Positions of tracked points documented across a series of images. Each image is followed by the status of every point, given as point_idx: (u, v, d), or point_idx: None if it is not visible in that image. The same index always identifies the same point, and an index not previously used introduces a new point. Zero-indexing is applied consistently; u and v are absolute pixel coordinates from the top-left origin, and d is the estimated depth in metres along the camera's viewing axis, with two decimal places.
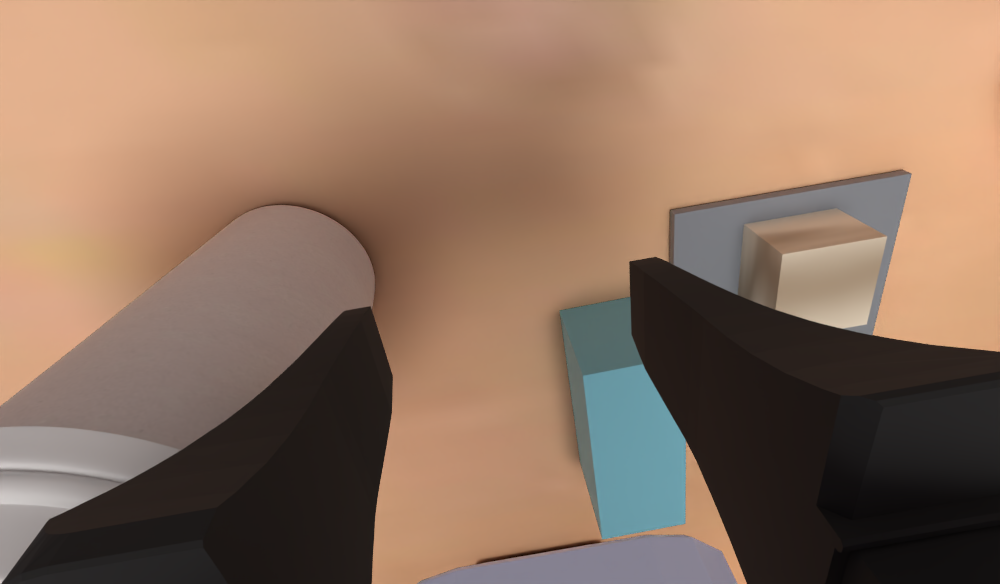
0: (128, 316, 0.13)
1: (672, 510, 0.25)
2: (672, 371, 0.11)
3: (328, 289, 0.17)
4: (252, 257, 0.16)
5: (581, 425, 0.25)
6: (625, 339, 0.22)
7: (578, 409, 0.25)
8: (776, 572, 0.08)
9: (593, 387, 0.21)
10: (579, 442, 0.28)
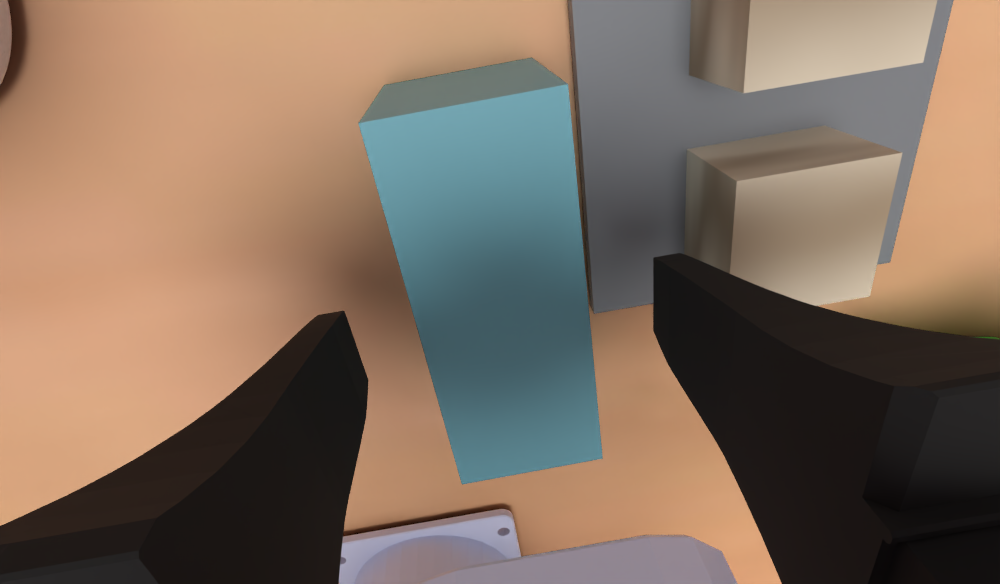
0: None
1: (578, 432, 0.14)
2: (699, 366, 0.11)
3: None
4: None
5: None
6: (468, 87, 0.12)
7: None
8: (814, 565, 0.08)
9: (386, 154, 0.10)
10: None
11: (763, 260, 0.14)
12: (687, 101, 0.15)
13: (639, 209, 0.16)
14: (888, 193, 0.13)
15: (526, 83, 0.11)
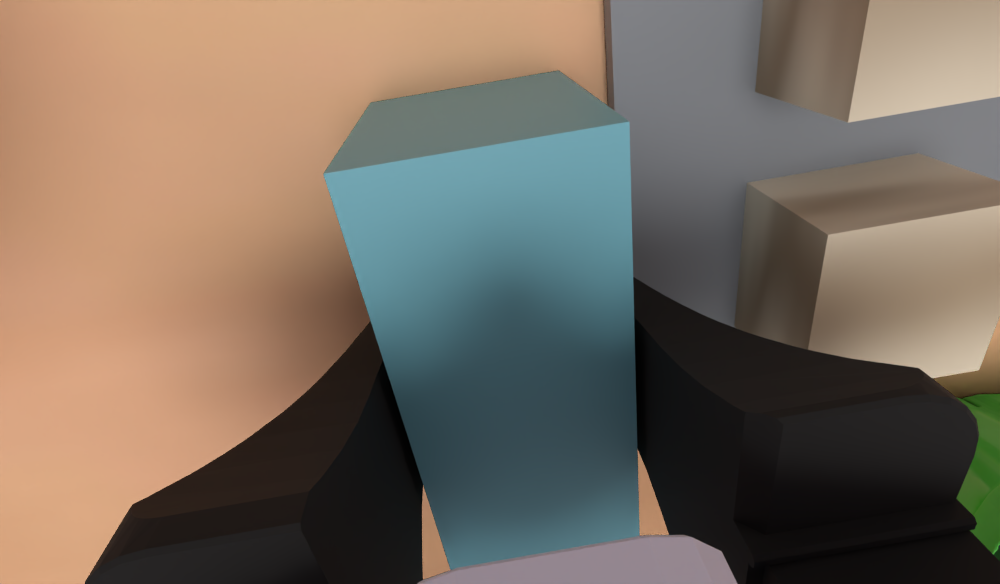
0: None
1: None
2: None
3: None
4: None
5: None
6: (480, 117, 0.08)
7: None
8: None
9: (364, 217, 0.07)
10: None
11: (853, 329, 0.11)
12: (751, 124, 0.12)
13: (684, 254, 0.13)
14: None
15: (564, 115, 0.08)
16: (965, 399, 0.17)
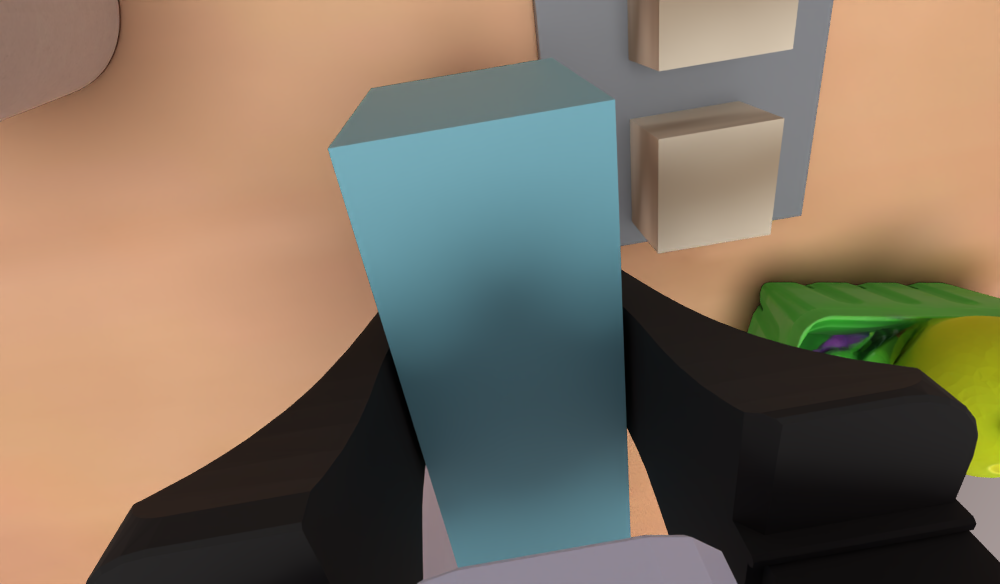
0: None
1: (603, 518, 0.12)
2: None
3: None
4: None
5: None
6: (476, 99, 0.09)
7: None
8: None
9: (366, 190, 0.08)
10: None
11: (684, 202, 0.18)
12: (628, 80, 0.19)
13: None
14: (777, 150, 0.17)
15: (555, 95, 0.08)
16: (806, 285, 0.24)
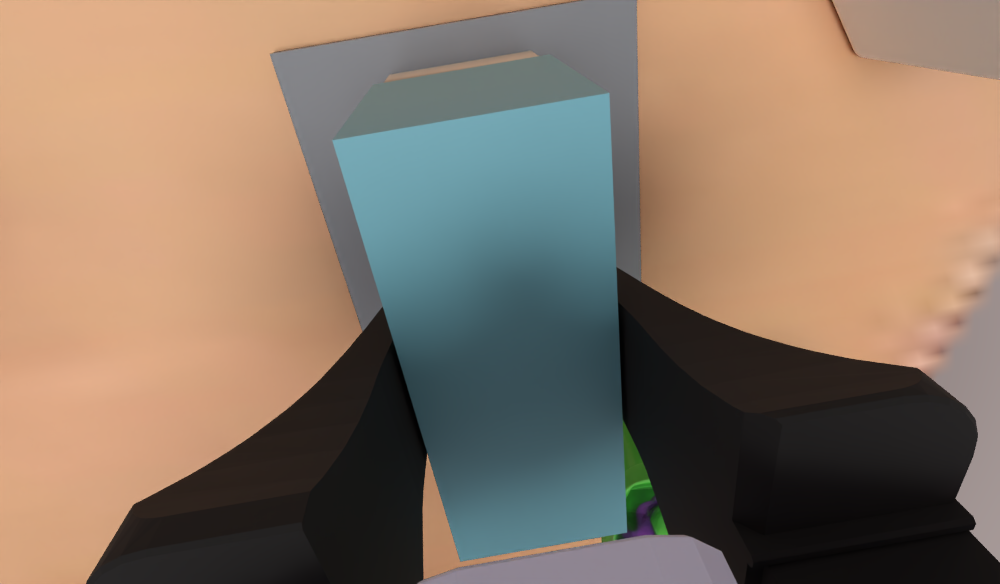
0: None
1: (599, 505, 0.12)
2: (622, 379, 0.11)
3: None
4: None
5: None
6: (475, 93, 0.09)
7: None
8: None
9: (369, 180, 0.08)
10: None
11: None
12: None
13: None
14: None
15: (552, 89, 0.08)
16: None
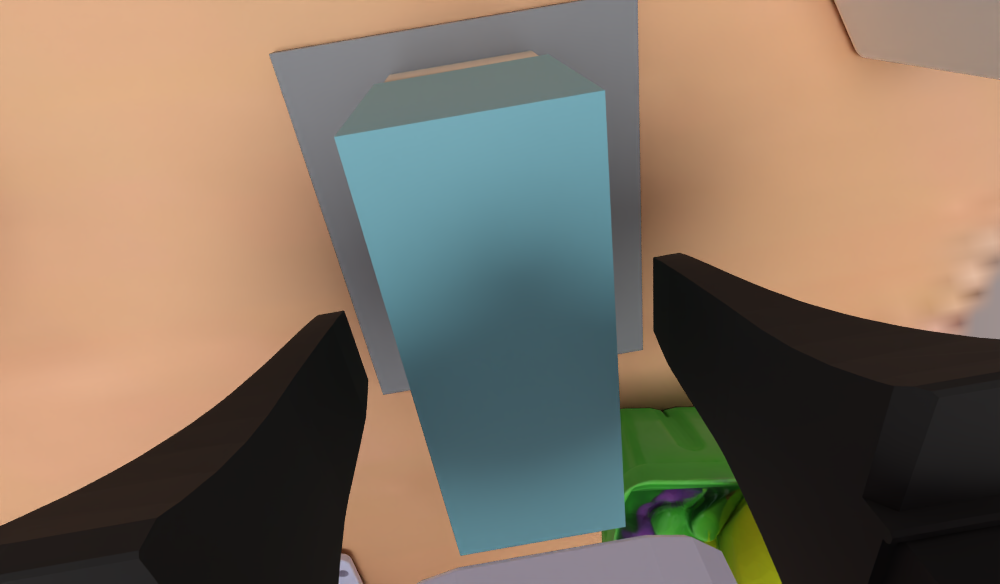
0: None
1: (598, 499, 0.12)
2: (699, 366, 0.11)
3: None
4: None
5: None
6: (474, 91, 0.09)
7: None
8: (814, 565, 0.08)
9: (370, 177, 0.08)
10: None
11: None
12: None
13: None
14: None
15: (549, 87, 0.09)
16: (664, 411, 0.23)
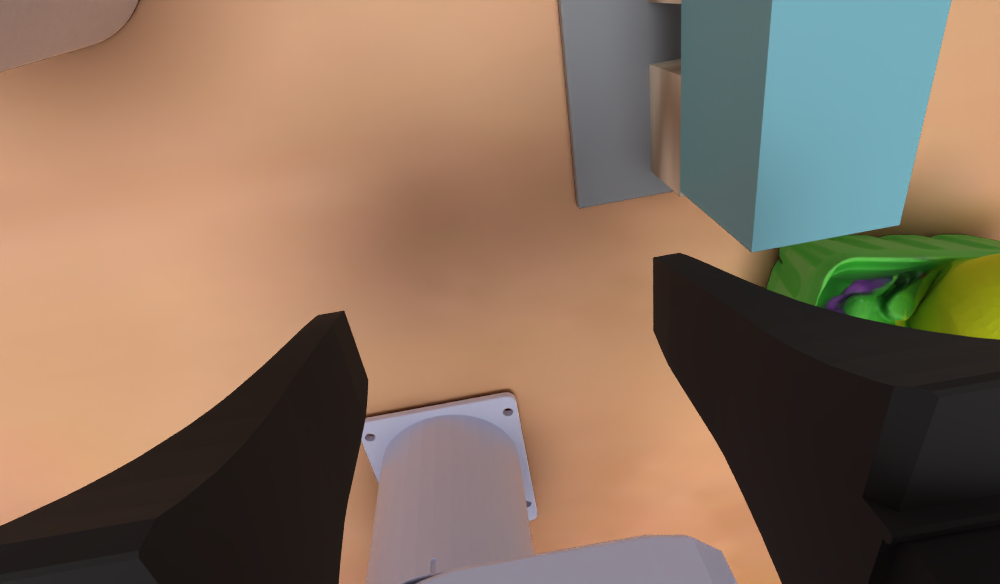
0: None
1: (886, 188, 0.14)
2: (699, 367, 0.11)
3: None
4: None
5: (722, 30, 0.14)
6: None
7: (717, 1, 0.14)
8: (814, 565, 0.08)
9: None
10: (694, 126, 0.16)
11: None
12: (647, 24, 0.19)
13: (613, 116, 0.20)
14: None
15: None
16: None
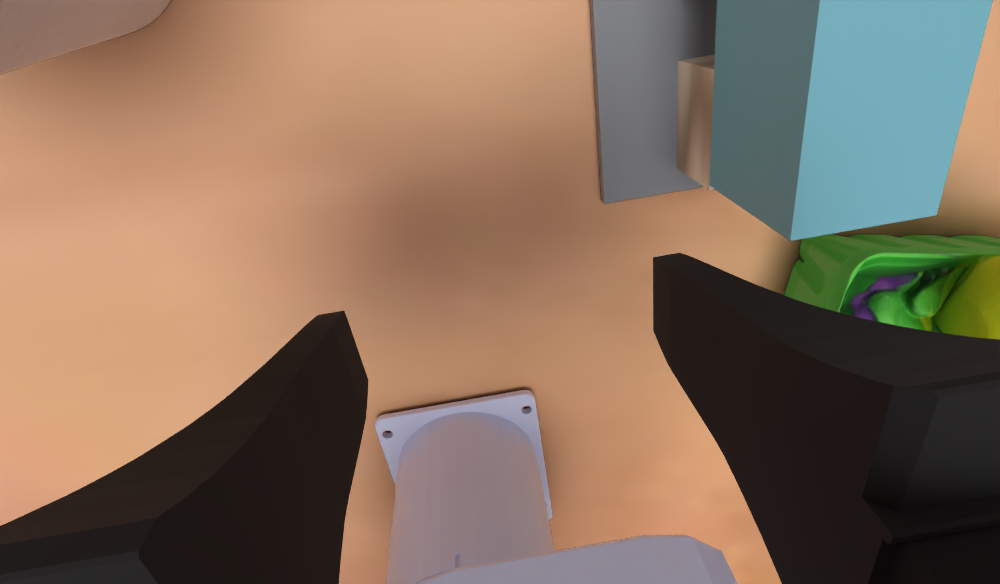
0: None
1: (925, 177, 0.14)
2: (699, 366, 0.11)
3: None
4: None
5: (763, 21, 0.14)
6: None
7: None
8: (814, 565, 0.08)
9: None
10: (728, 119, 0.17)
11: None
12: (677, 20, 0.19)
13: (641, 111, 0.20)
14: None
15: None
16: None
